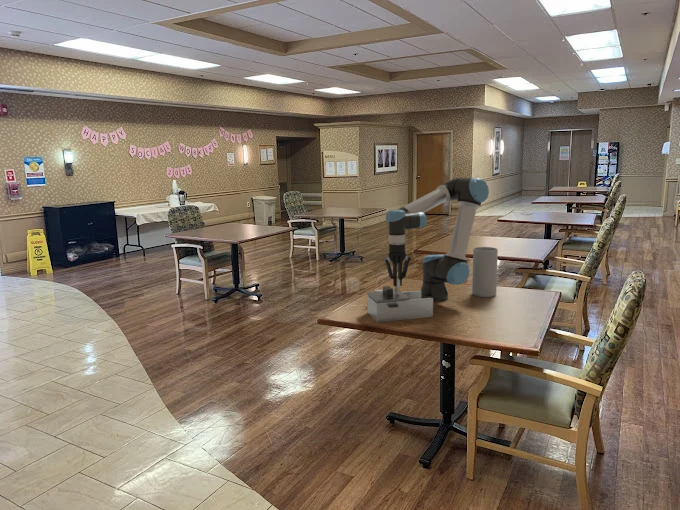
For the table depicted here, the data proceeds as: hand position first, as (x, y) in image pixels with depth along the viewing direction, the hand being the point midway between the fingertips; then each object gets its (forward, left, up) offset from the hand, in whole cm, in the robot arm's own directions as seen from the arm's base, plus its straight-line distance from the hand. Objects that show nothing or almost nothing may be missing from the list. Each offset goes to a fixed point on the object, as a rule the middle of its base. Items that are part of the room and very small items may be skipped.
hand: (397, 292), depth 246 cm
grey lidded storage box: (-1, 0, -11) cm, 11 cm away
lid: (+5, 0, -2) cm, 5 cm away
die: (+3, -18, -11) cm, 21 cm away
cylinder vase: (-57, -20, -11) cm, 61 cm away
